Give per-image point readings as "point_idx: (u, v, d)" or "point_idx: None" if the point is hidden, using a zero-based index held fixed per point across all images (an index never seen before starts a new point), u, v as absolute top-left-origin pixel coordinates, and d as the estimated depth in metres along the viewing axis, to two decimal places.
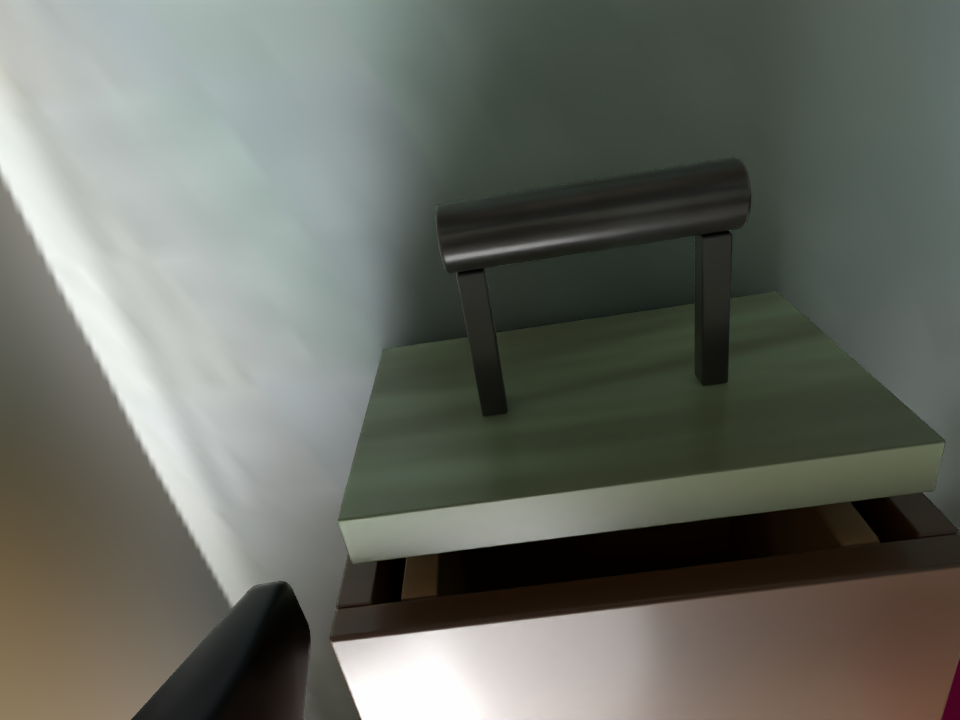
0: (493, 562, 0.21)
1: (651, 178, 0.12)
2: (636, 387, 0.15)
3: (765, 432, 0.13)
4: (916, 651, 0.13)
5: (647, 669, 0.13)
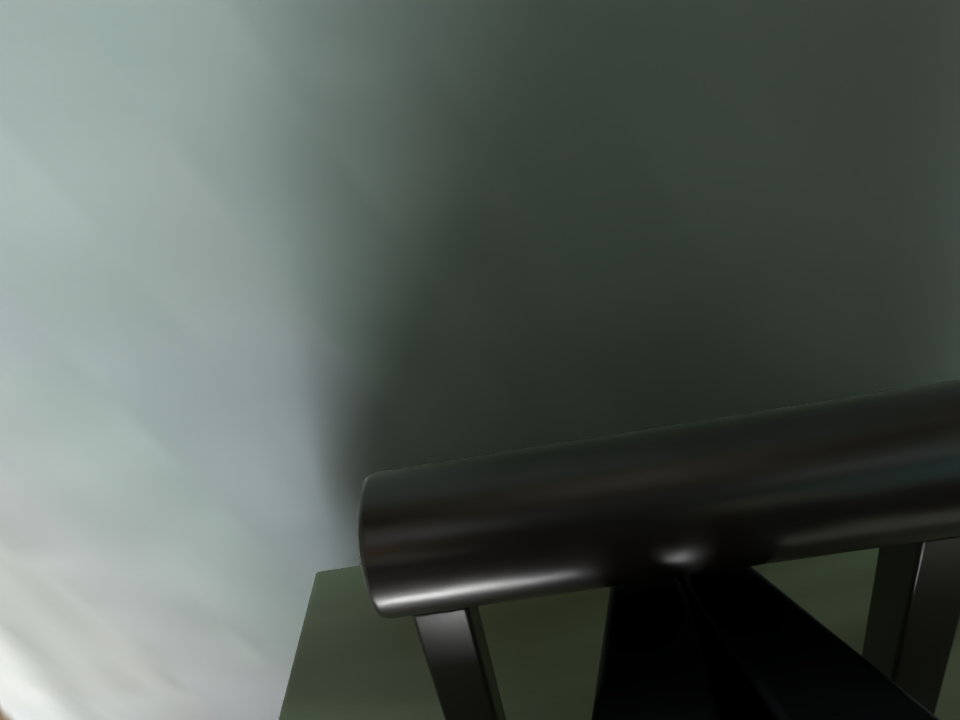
0: None
1: (831, 446, 0.06)
2: None
3: None
4: None
5: None
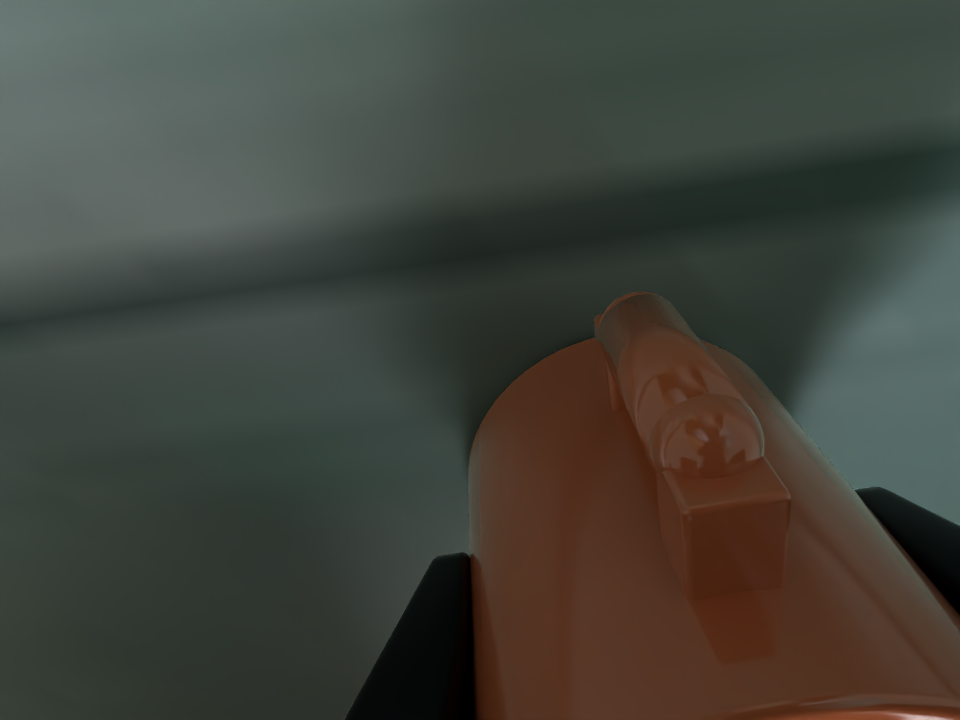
0: None
1: None
2: None
3: None
4: None
5: None
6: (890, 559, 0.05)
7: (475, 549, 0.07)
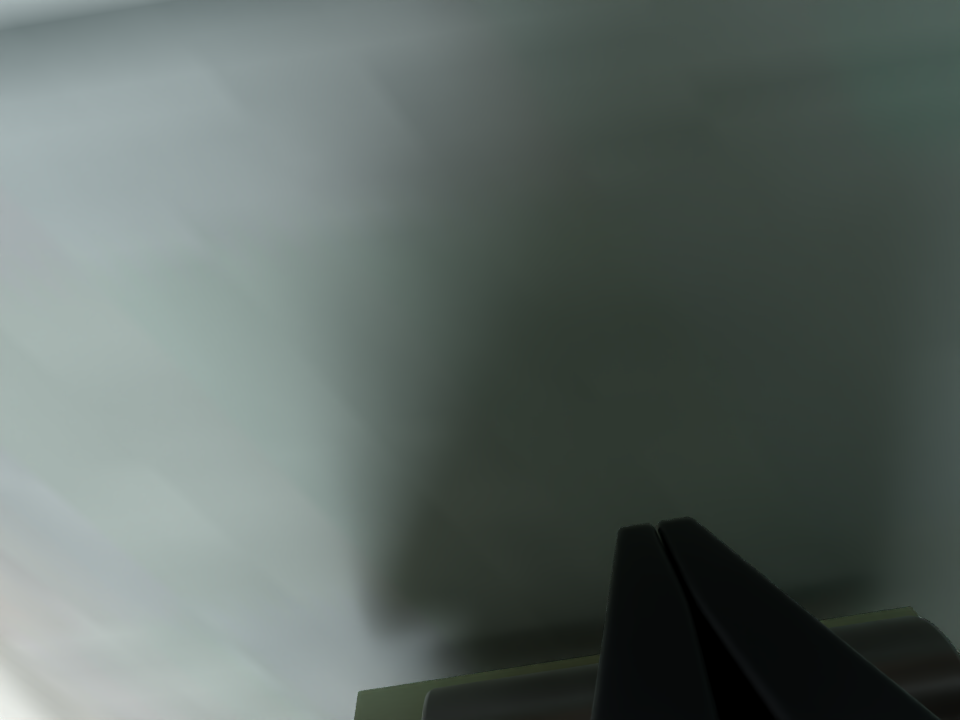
0: None
1: None
2: None
3: None
4: None
5: None
6: None
7: None
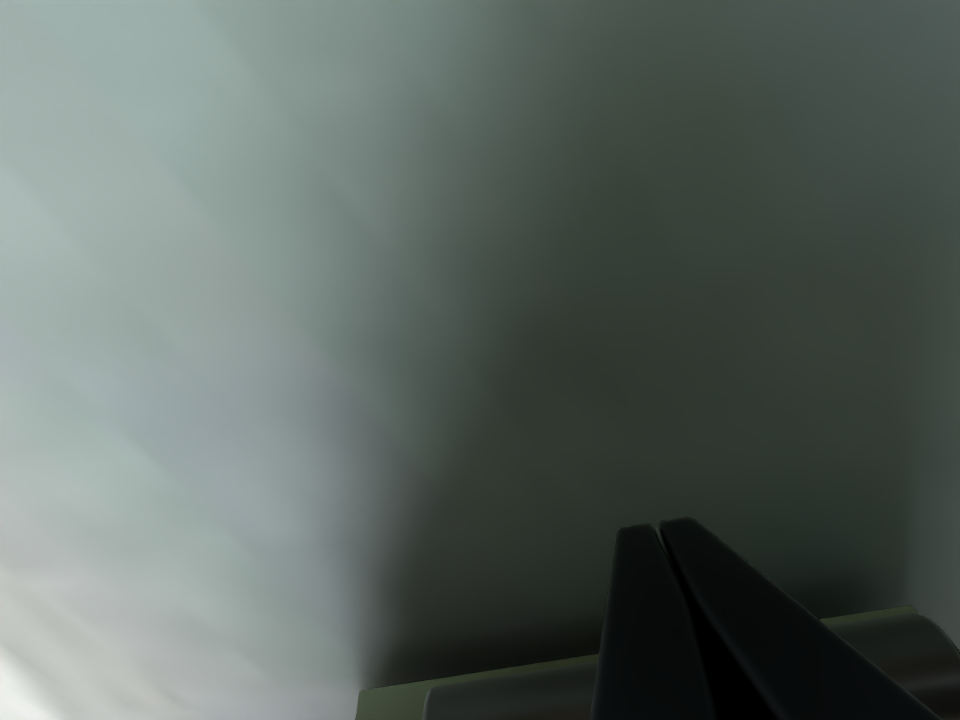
0: None
1: None
2: None
3: None
4: None
5: None
6: None
7: None
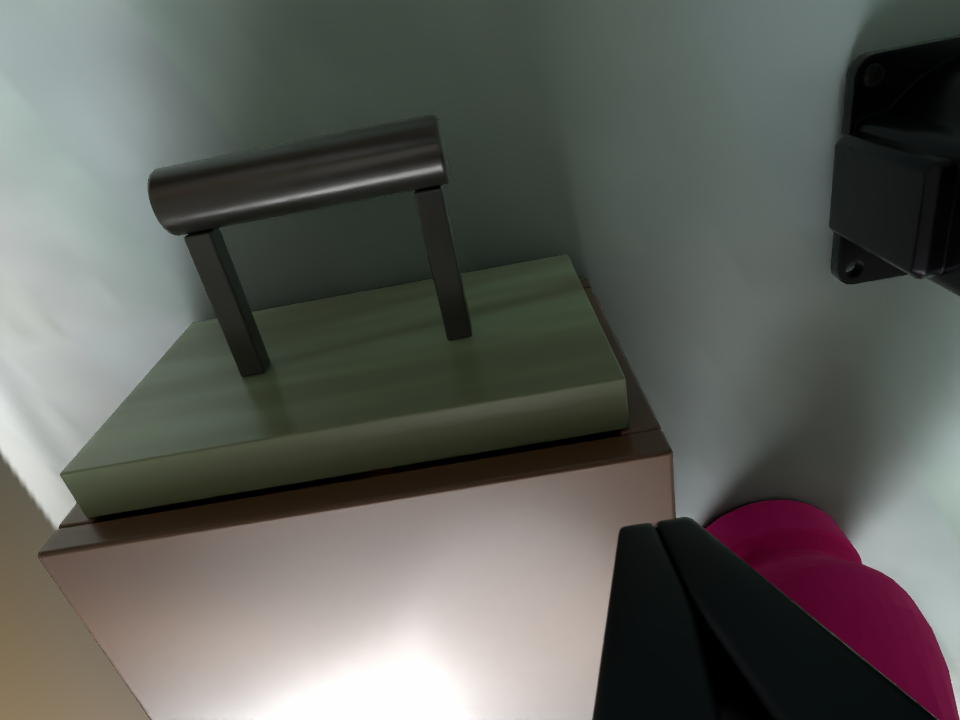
0: None
1: (349, 137, 0.13)
2: (390, 344, 0.15)
3: (476, 377, 0.13)
4: None
5: (367, 577, 0.13)
6: None
7: None
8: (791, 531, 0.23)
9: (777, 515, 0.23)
